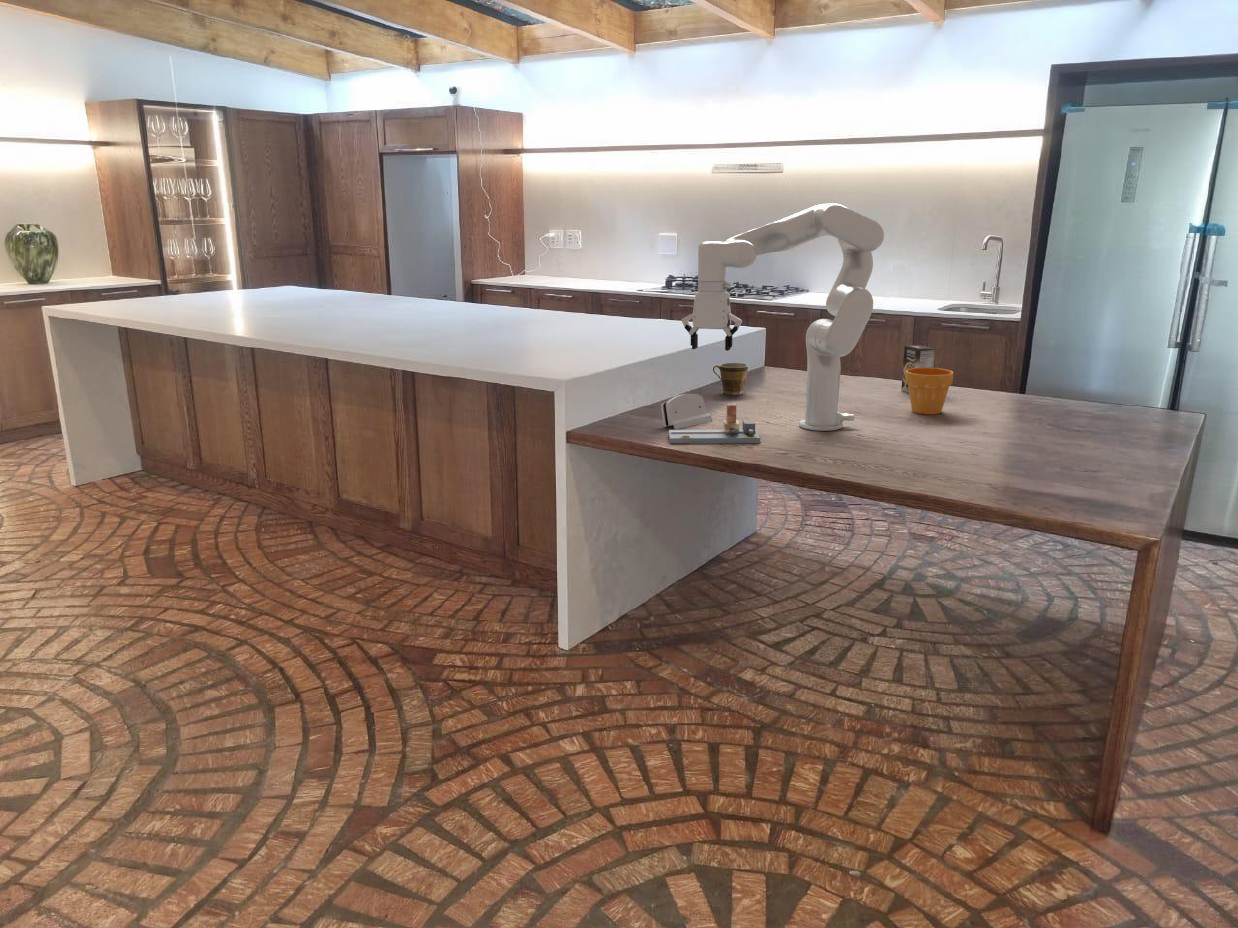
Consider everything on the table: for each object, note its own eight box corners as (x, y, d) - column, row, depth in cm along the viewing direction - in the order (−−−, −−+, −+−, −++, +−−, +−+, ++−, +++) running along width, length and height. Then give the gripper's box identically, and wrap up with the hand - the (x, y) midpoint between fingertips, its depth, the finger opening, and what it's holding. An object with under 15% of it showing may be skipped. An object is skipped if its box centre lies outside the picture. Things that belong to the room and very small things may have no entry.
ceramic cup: (751, 392, 316) (752, 364, 313) (740, 397, 308) (740, 368, 305) (718, 388, 323) (719, 361, 320) (706, 393, 315) (706, 365, 312)
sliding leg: (737, 429, 255) (737, 402, 253) (740, 436, 247) (741, 408, 245) (723, 429, 255) (723, 402, 253) (725, 436, 247) (726, 409, 245)
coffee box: (900, 390, 315) (903, 345, 311) (915, 389, 317) (919, 344, 313) (915, 395, 307) (919, 348, 303) (931, 394, 309) (935, 347, 304)
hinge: (675, 429, 263) (666, 396, 263) (664, 432, 267) (656, 400, 267) (713, 420, 274) (705, 389, 274) (702, 423, 278) (694, 392, 278)
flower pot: (904, 415, 277) (907, 374, 274) (901, 406, 291) (904, 366, 287) (952, 417, 274) (956, 375, 271) (947, 407, 287) (950, 368, 284)
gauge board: (755, 434, 257) (756, 418, 255) (760, 443, 247) (760, 426, 246) (668, 434, 257) (668, 419, 256) (670, 443, 247) (670, 427, 246)
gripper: (745, 286, 246) (744, 348, 251) (686, 286, 252) (686, 346, 257) (738, 289, 239) (737, 352, 244) (677, 288, 246) (677, 350, 250)
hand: (711, 349), depth 251 cm, fingers open, 9 cm apart
